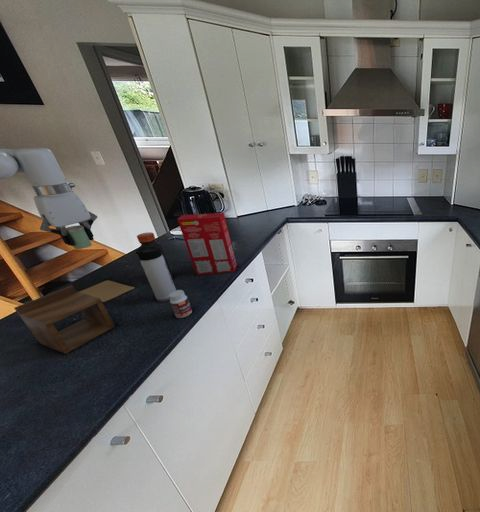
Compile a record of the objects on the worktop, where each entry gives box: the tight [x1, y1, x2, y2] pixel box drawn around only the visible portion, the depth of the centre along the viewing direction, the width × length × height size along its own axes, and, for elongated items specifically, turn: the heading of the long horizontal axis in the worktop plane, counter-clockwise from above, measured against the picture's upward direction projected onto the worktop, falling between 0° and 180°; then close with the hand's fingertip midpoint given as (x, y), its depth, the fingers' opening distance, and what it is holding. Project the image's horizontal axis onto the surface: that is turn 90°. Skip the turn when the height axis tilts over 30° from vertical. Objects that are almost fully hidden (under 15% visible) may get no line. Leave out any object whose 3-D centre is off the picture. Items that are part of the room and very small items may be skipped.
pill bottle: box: [169, 289, 193, 319], centre depth 90 cm, size 5×5×8 cm
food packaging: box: [177, 212, 238, 276], centre depth 113 cm, size 15×5×25 cm, turn 104°
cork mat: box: [79, 279, 136, 303], centre depth 103 cm, size 16×10×1 cm, turn 72°
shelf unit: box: [13, 284, 116, 355], centre depth 80 cm, size 12×12×13 cm
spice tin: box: [66, 224, 93, 250], centre depth 93 cm, size 5×5×7 cm
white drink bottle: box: [136, 231, 174, 280], centre depth 107 cm, size 7×7×20 cm
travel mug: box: [135, 247, 177, 302], centre depth 96 cm, size 6×7×20 cm
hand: (80, 241), depth 94 cm, fingers closed on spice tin, 4 cm apart
